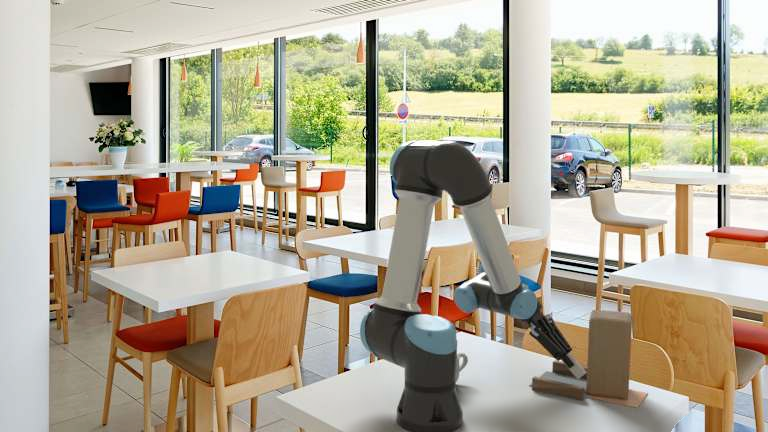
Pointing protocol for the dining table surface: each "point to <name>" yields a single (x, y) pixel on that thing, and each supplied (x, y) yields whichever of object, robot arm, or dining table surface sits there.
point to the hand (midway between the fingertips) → (582, 375)
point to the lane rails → (559, 383)
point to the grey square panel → (565, 380)
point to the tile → (632, 399)
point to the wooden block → (609, 353)
